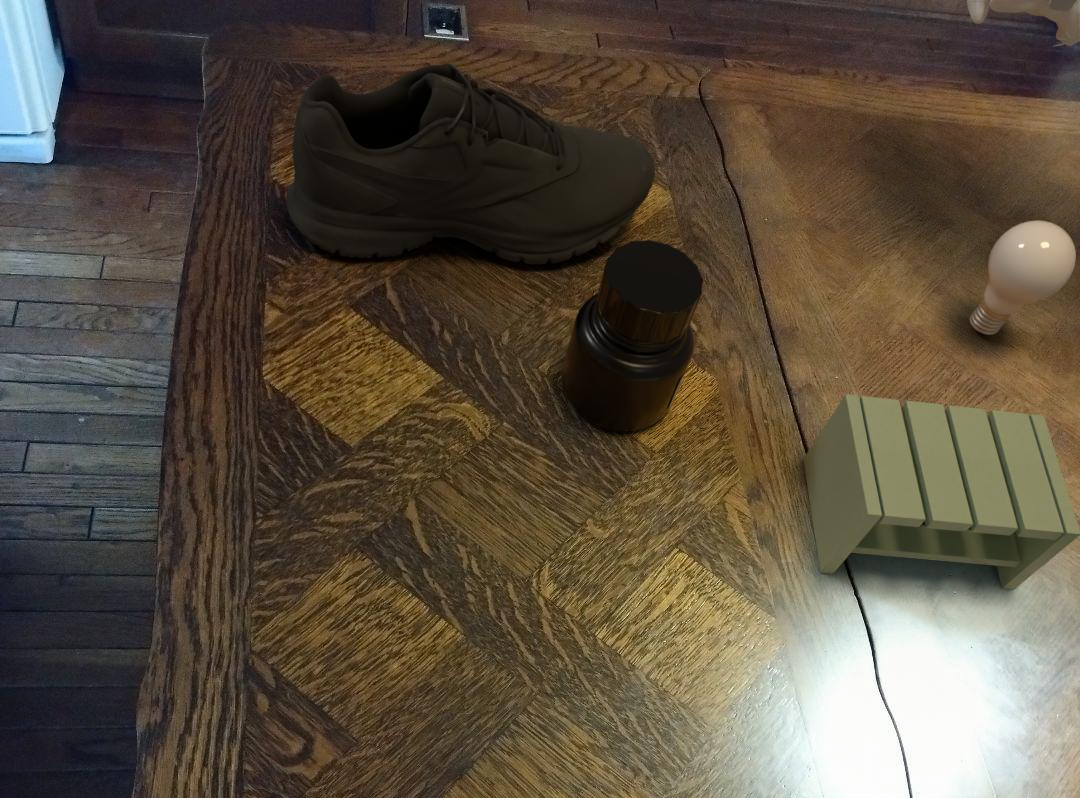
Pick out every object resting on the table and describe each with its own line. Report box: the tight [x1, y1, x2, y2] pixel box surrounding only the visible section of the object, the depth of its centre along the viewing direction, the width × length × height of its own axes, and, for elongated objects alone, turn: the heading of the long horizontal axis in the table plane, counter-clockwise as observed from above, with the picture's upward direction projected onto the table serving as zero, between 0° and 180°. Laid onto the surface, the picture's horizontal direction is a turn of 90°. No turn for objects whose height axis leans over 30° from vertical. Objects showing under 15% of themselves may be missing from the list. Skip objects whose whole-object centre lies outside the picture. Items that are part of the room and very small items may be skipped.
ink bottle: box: [561, 239, 704, 432], centre depth 72 cm, size 10×9×12 cm
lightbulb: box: [969, 220, 1077, 336], centre depth 82 cm, size 6×6×11 cm
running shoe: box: [285, 62, 656, 266], centre depth 78 cm, size 11×30×14 cm, turn 104°
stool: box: [802, 393, 1080, 590], centre depth 71 cm, size 15×10×8 cm, turn 89°
